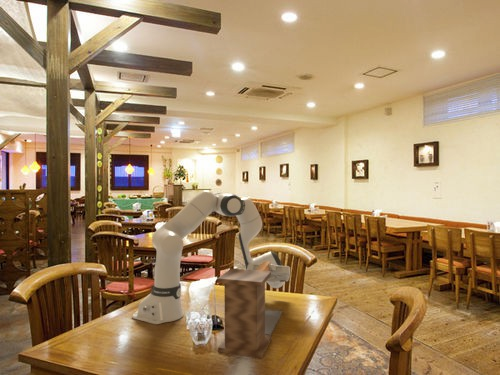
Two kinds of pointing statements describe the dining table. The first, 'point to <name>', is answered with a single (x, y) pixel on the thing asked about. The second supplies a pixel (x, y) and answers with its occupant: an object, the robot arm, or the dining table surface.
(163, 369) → the dining table surface
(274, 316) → the mat
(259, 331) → the wooden pillar on base
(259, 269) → the bar
